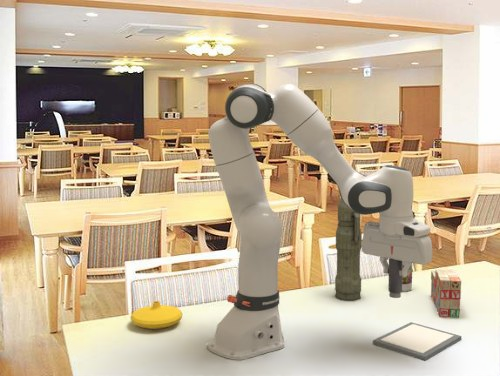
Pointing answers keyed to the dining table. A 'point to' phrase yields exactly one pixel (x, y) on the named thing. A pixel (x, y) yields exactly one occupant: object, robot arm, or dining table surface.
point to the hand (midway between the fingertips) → (395, 274)
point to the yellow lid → (156, 316)
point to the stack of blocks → (446, 292)
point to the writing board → (417, 340)
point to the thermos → (348, 254)
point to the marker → (394, 277)
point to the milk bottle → (407, 279)
